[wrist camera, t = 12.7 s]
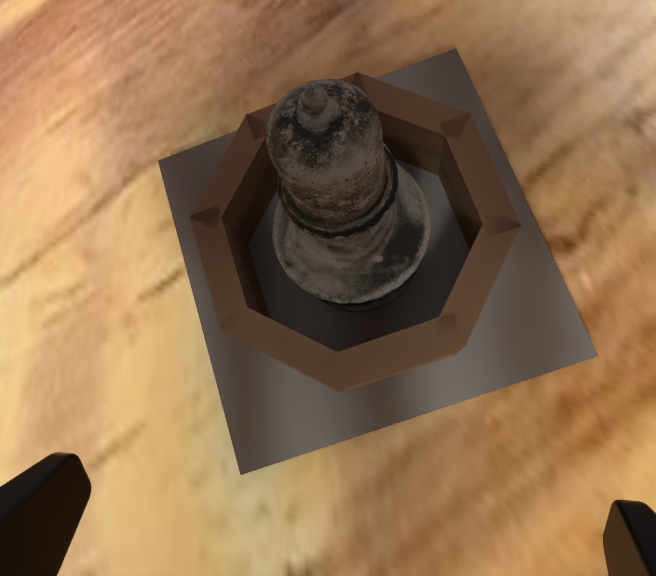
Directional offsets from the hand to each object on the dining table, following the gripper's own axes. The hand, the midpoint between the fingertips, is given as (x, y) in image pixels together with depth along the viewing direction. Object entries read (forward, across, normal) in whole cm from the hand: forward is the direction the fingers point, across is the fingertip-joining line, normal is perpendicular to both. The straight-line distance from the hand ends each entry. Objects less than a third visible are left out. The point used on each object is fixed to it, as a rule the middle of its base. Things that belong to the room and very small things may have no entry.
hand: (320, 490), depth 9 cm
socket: (+15, +2, +3) cm, 16 cm away
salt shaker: (+15, +1, +3) cm, 15 cm away
